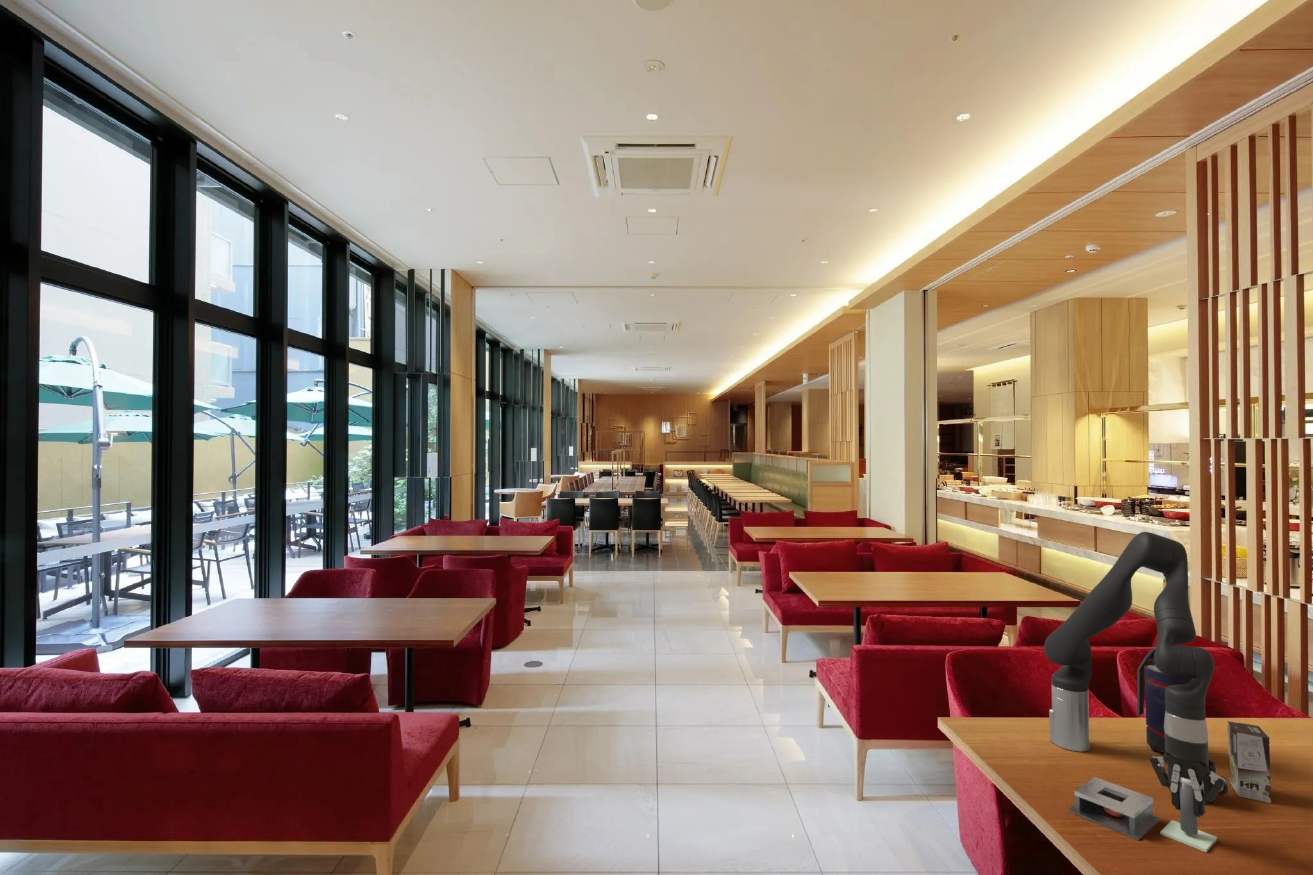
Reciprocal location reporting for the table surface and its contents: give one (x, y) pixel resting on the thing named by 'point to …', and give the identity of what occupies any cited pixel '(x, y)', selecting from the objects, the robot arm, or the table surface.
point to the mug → (1207, 782)
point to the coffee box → (1249, 761)
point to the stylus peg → (1187, 807)
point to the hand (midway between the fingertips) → (1188, 811)
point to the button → (1112, 812)
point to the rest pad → (1189, 837)
